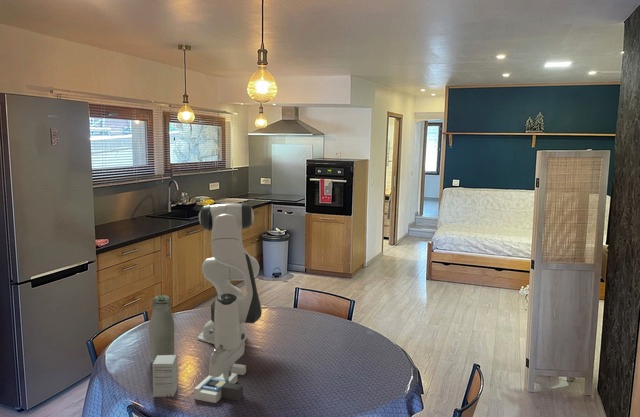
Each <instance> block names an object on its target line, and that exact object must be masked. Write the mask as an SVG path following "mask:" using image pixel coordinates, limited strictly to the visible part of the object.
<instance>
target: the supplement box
mask: <svg viewBox="0 0 640 417" xmlns="http://www.w3.org/2000/svg"><path fill="white" fill-rule="evenodd" d="M151 366H152V392H153V398H165V397H166V398H167V396H168V397H170V396H171V397H174V396H175V395H176V392H177V389H178V386H179V385H178V384H179V383H178V379H179V378H178V355H177V354H174V355H158V356H157V357H156V358H155V360H154V361H152V365H151Z"/></svg>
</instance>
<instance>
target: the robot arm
mask: <svg viewBox="0 0 640 417" xmlns="http://www.w3.org/2000/svg"><path fill="white" fill-rule="evenodd" d="M254 218H255V214H254V209H253V208H252V206H251V205H250V204H249V203H244V202H242V203H236V202H226V203H216V204H206V205H203V206H202V207H201V208H200V211H199V214H198V221H199V224H200V226H201V227H202V229H203V230H206V231H209V232H211V237H210V238H211V239H210V242H211V243H210V244H211V245H210V246H211V247H210V248H211V254H212V257H207V258H206V259H205V260H204V261H203V262H202V264H201V273H202V275H203V276H204V278H205V279H206V280H208V281H209V282H210V283H211V284H212V285H213V286H214V288H215V290H216V293H217V297H216V298H215V299H214V300H213V301H212V303H211V304H210V316H211V317H210V320H208V321H207V322H206V323H205V324H204V326H203V330H202V332H201V333H200V334H198V336H197V340H198V341H200V342H206V343H209V344H212V345H214V347H215V349H214V350H213V352H212V353H211V354H210V357H209V363H208V375H210V376H213V377H219V376H220V375H221V374H222V373H223V378H224V379H228V378H229V377H230V376H231V375H232V368H233V363H235V364H236V362H237V361H238V360H239V359H240V358H241V357H243V355H244V353H245V348H246V347H245V343H246V340H247V339H248V335H247V333H246V329H245V328H246V327H245V324H255V323H256V322H258V320H259V319H260V318H261V317H262V313H263V308H262V307H263V306H262V303H261V300H260V297H259V293H258V288H257V284H256V279H255V278H256V277H257V276H258V275H259V273H260V264H259V263H260V262H258V260H257V259H256V258H255V257H254V256H252V255H251V254H249V253H248V252H247V250H246V249H245V246H244V244H243V234H242V230H244V229H248V228H250V227H251V226H252V225H253V222H254ZM231 281H244V287H245V291H246V295H244V293H243V291H242V290H241V289H240V288H239V287H237V286H235V285H233V284H232V283H231Z"/></svg>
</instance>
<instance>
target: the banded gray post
mask: <svg viewBox="0 0 640 417" xmlns="http://www.w3.org/2000/svg"><path fill="white" fill-rule="evenodd" d="M208 386H209V387H214V388H216V387H217V386H221V398H224V399H228V400H235V401H240V400H241V398H243V396H244V385H243V384H239V383H235V384H233V383H228V382H224V381H217V380H213V381H212V382H210V383H209V384H208Z"/></svg>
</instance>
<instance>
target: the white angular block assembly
mask: <svg viewBox="0 0 640 417" xmlns="http://www.w3.org/2000/svg"><path fill="white" fill-rule="evenodd" d="M246 373H247V365H245V364H241V363H240V364H239V363H236V362H235V363H233V368H232V375H231V376H230V377H229V378H228V379H224V378H223V373H222V374H221V375H220V376H219V377H213V376H210V374H208V376H207V377H206V378H204V379H203V380H202V381H200V383H199V384H198V385H196V386H195V387H194V389H193V391H194V392H193V394H194V397H193V398H194V400H199V401H203V402H208V403H213V404H216V403H217V402H219V401H220V400H221V399H222V397H221V386H217V387H216V388H214V387H209V386H208V384H209V383H210V382H212V381H213V380H217V381H224V382H228V383H233V384H237V382H238V375H240V376H245V374H246Z"/></svg>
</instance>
